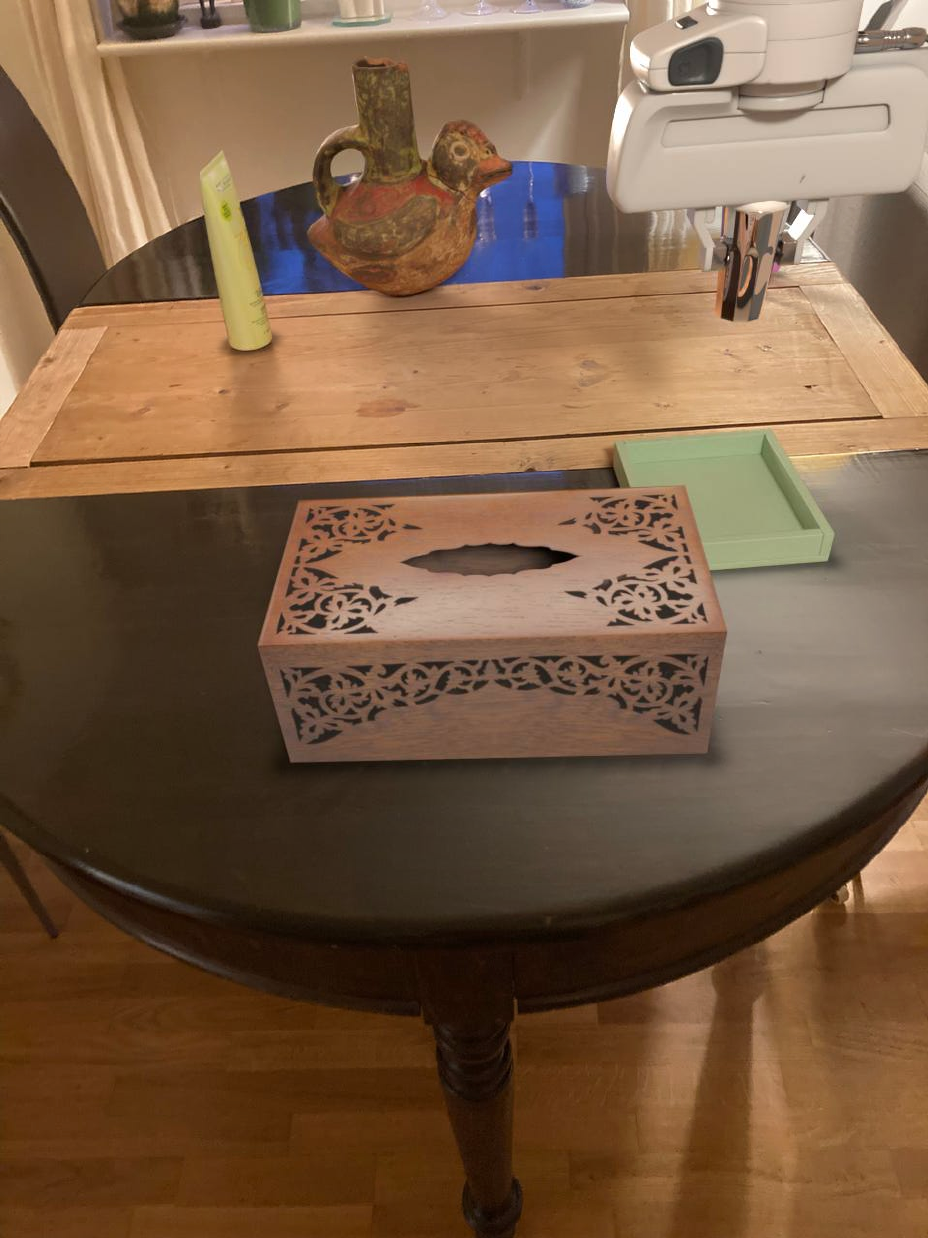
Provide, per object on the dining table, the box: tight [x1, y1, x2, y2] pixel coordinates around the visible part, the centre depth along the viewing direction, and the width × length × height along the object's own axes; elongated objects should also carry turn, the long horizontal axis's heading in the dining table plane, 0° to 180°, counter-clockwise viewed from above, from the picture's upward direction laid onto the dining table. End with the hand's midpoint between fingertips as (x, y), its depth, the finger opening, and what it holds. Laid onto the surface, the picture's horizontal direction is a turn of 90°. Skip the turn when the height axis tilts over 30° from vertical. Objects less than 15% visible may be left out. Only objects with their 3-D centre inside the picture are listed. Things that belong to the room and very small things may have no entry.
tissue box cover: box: [257, 485, 728, 763], centre depth 59 cm, size 26×14×10 cm, turn 89°
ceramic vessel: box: [306, 55, 514, 296], centre depth 107 cm, size 17×26×25 cm, turn 80°
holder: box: [612, 428, 836, 571], centre depth 75 cm, size 14×16×3 cm
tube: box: [199, 149, 273, 352], centre depth 99 cm, size 6×5×20 cm
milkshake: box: [714, 175, 806, 323], centre depth 64 cm, size 4×5×10 cm
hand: (747, 265), depth 65 cm, fingers closed on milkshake, 4 cm apart
